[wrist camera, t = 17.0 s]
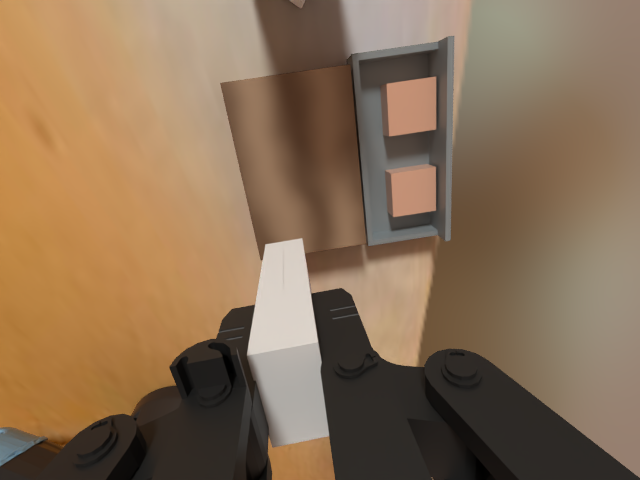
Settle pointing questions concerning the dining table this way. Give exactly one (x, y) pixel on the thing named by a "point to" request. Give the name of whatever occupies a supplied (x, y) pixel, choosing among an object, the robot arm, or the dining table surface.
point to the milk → (298, 3)
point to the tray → (403, 138)
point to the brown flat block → (299, 157)
